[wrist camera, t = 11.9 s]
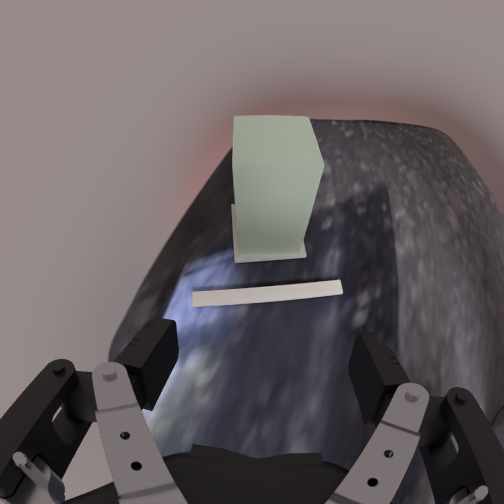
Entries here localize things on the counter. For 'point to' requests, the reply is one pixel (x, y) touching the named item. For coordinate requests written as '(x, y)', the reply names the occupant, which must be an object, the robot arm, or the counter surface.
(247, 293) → the pale grey thin rod
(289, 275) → the counter surface
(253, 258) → the mat
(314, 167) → the sage block
